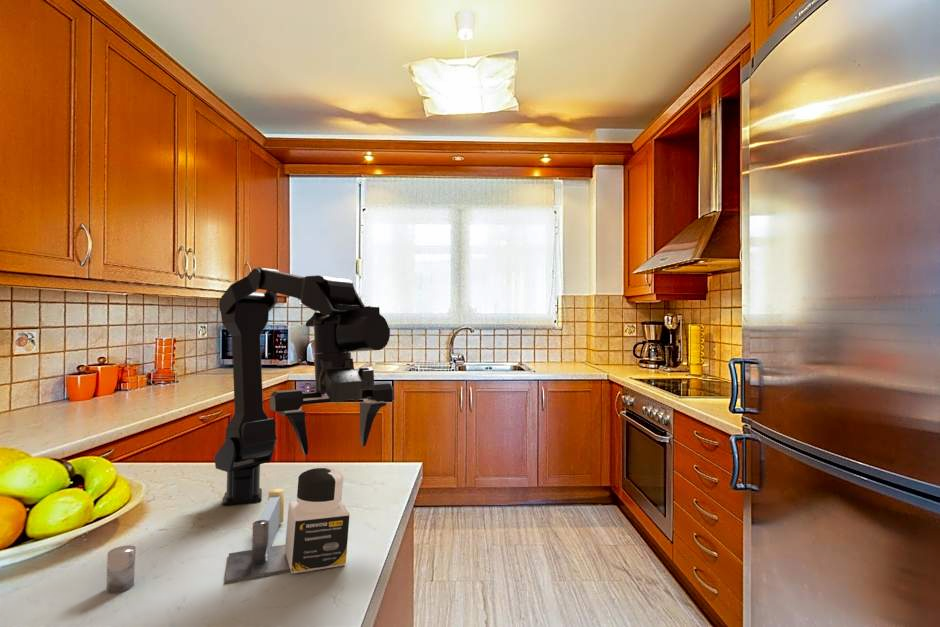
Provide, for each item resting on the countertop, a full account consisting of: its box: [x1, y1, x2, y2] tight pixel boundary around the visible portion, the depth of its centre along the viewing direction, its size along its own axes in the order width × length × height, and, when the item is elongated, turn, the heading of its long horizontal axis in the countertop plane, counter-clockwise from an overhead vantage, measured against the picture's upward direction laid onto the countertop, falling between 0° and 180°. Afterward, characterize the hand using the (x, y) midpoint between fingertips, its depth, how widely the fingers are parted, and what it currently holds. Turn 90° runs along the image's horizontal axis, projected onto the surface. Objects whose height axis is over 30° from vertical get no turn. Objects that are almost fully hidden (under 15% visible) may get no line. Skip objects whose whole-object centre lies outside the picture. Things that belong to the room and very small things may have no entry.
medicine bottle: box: [284, 467, 350, 574], centre depth 67 cm, size 7×7×12 cm
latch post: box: [105, 544, 136, 594], centre depth 59 cm, size 3×3×4 cm
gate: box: [257, 488, 285, 552], centre depth 74 cm, size 13×2×5 cm, turn 14°
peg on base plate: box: [224, 519, 291, 584], centre depth 66 cm, size 8×8×6 cm
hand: (335, 450), depth 77 cm, fingers open, 9 cm apart
